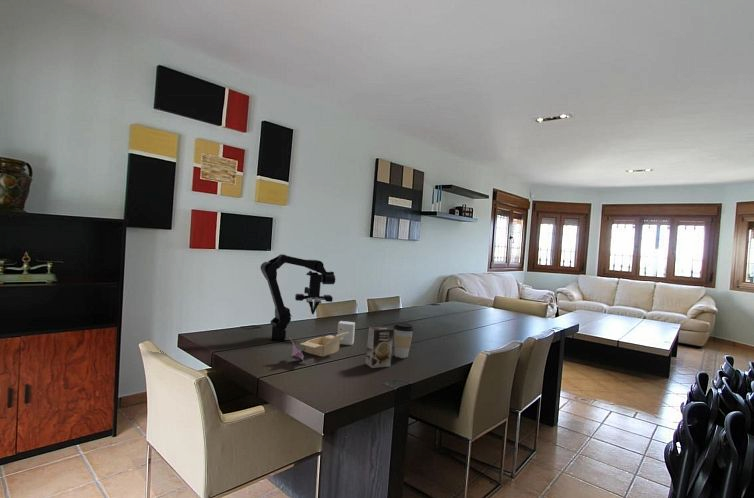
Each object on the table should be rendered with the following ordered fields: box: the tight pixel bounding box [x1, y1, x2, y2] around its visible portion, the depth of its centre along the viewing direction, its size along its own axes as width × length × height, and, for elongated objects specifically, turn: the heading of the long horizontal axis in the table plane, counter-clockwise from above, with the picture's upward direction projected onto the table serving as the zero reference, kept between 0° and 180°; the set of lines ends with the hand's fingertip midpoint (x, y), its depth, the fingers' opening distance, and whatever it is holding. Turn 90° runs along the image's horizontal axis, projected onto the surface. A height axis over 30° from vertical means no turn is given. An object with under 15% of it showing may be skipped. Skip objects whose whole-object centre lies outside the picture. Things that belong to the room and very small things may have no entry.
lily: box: [285, 337, 306, 364], centre depth 163 cm, size 12×12×10 cm
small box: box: [336, 320, 356, 346], centre depth 200 cm, size 8×6×10 cm
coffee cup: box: [393, 322, 414, 359], centre depth 186 cm, size 9×9×15 cm
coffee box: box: [365, 326, 395, 369], centre depth 170 cm, size 9×6×16 cm
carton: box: [300, 334, 344, 358], centre depth 183 cm, size 11×22×5 cm, turn 151°
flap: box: [325, 332, 349, 345], centre depth 179 cm, size 8×10×1 cm
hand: (312, 314), depth 206 cm, fingers closed
